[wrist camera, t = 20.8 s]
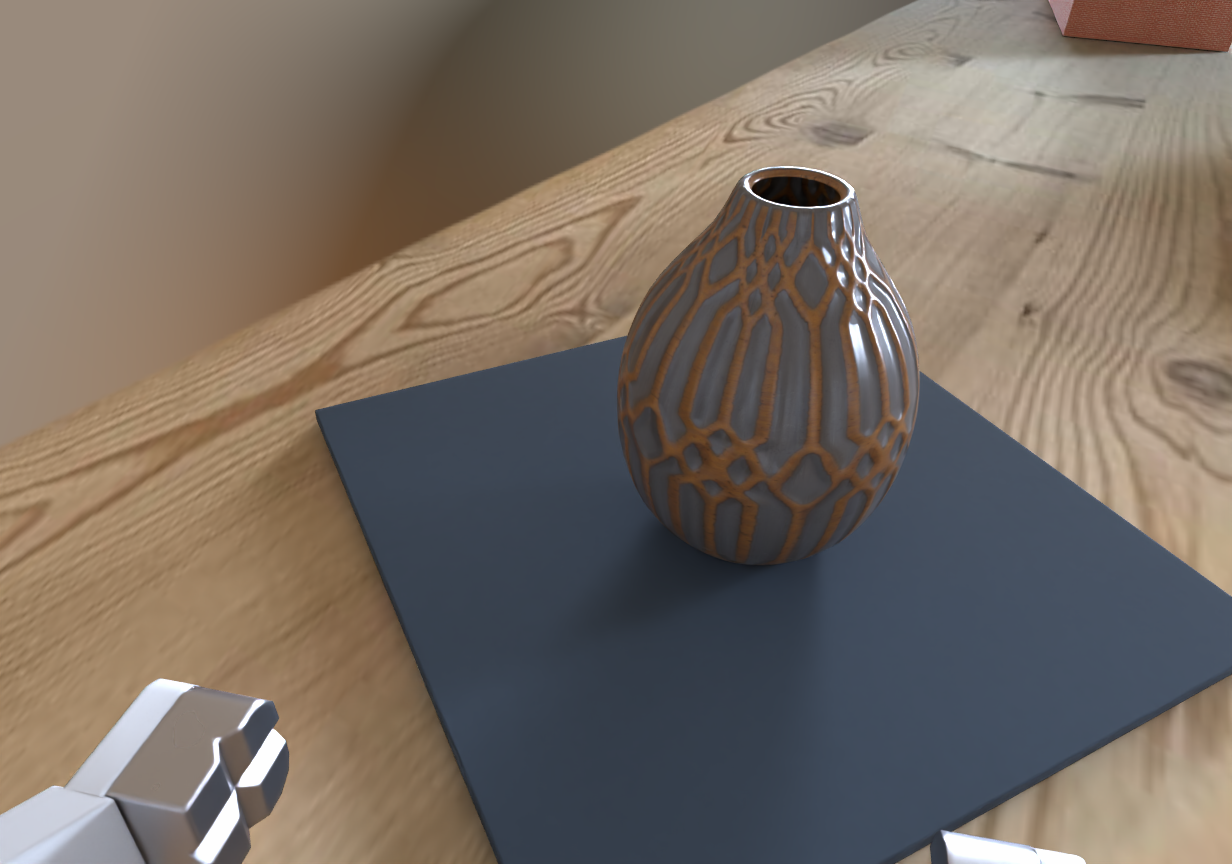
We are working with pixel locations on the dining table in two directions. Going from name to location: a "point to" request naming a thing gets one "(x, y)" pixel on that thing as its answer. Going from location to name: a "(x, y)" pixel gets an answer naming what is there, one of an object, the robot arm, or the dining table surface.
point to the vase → (770, 376)
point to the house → (1149, 21)
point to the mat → (752, 631)
